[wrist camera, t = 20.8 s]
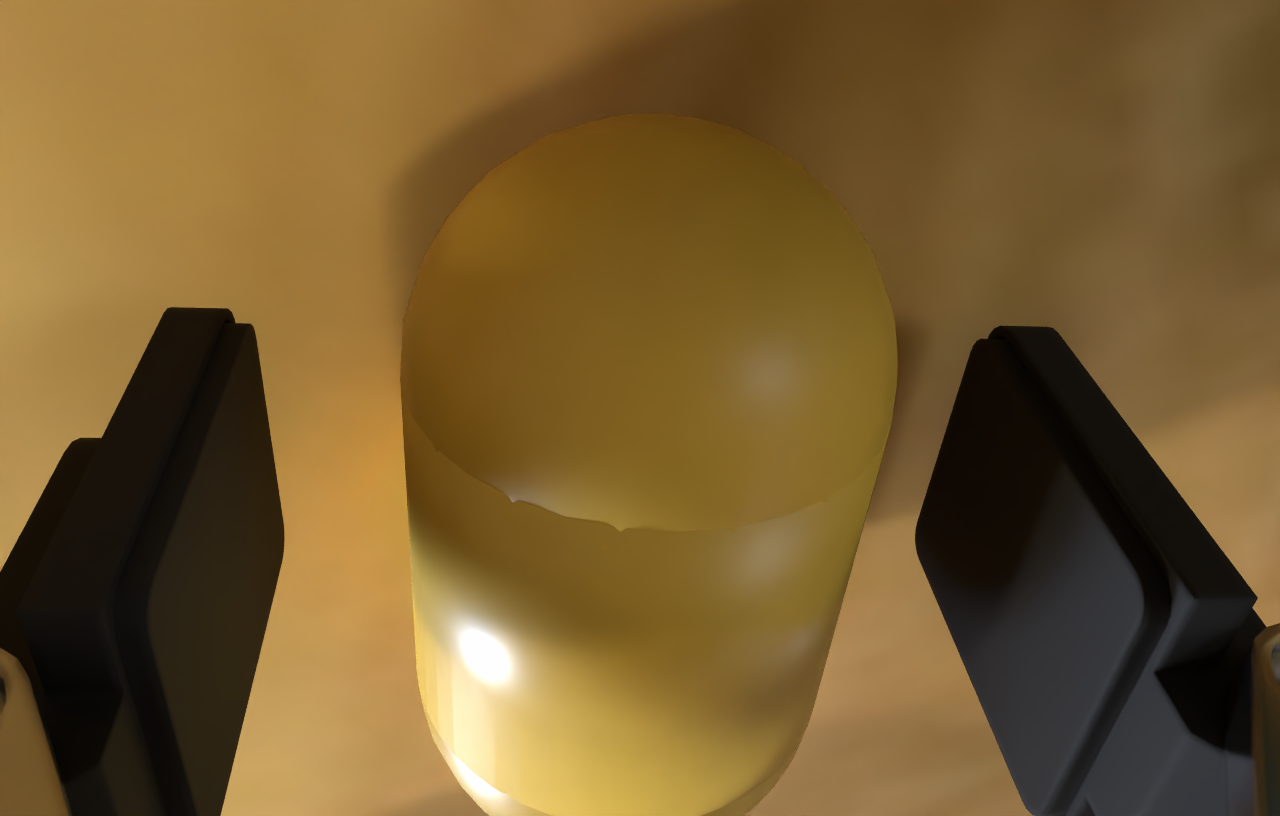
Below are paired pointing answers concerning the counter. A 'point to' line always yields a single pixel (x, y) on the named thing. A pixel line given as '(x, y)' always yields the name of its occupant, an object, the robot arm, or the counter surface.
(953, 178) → the counter surface
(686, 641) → the yellow capsule
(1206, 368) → the counter surface
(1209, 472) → the counter surface
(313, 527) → the counter surface
